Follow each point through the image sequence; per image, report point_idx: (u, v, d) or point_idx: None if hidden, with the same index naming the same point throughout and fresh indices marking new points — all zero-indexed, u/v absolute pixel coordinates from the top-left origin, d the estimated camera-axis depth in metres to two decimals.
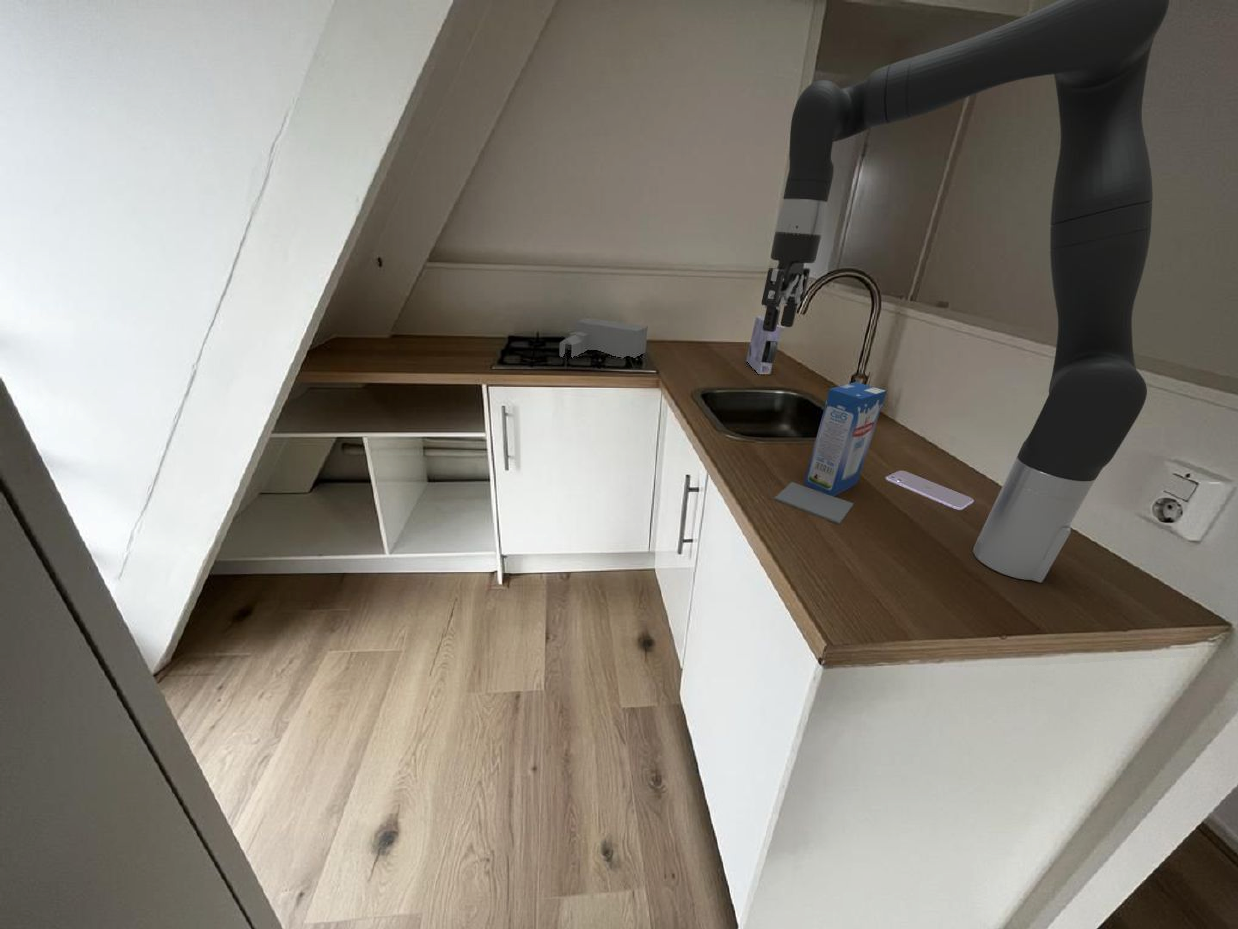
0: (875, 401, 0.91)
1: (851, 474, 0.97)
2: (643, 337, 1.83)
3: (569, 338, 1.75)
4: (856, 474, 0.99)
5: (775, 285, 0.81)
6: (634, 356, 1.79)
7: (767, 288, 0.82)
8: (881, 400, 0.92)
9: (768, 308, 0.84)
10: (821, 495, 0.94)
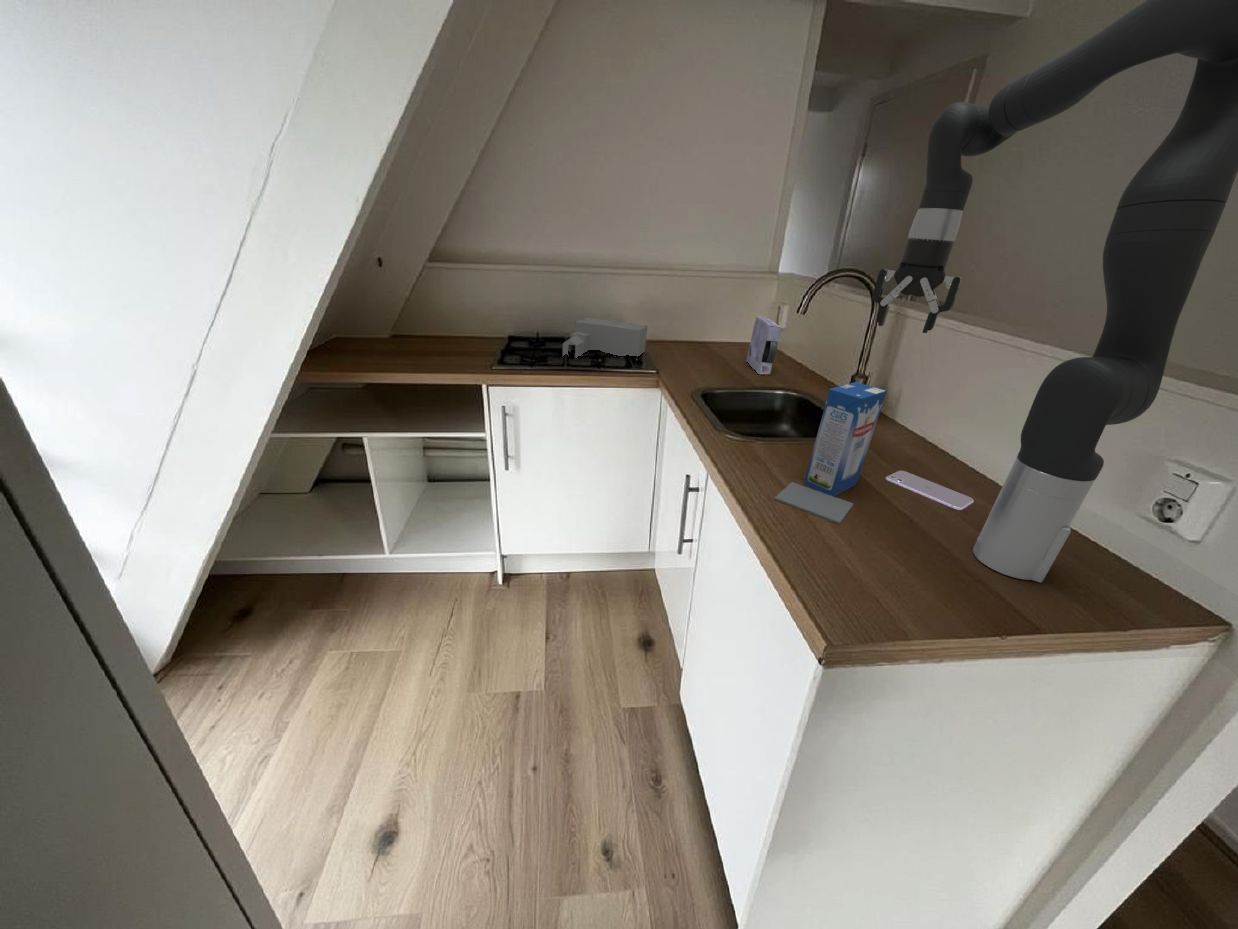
0: (875, 401, 0.91)
1: (851, 474, 0.97)
2: (644, 336, 1.85)
3: (572, 339, 1.75)
4: (856, 474, 0.99)
5: (957, 291, 0.90)
6: (636, 355, 1.81)
7: (955, 295, 0.89)
8: (881, 400, 0.92)
9: (939, 312, 0.92)
10: (821, 495, 0.94)
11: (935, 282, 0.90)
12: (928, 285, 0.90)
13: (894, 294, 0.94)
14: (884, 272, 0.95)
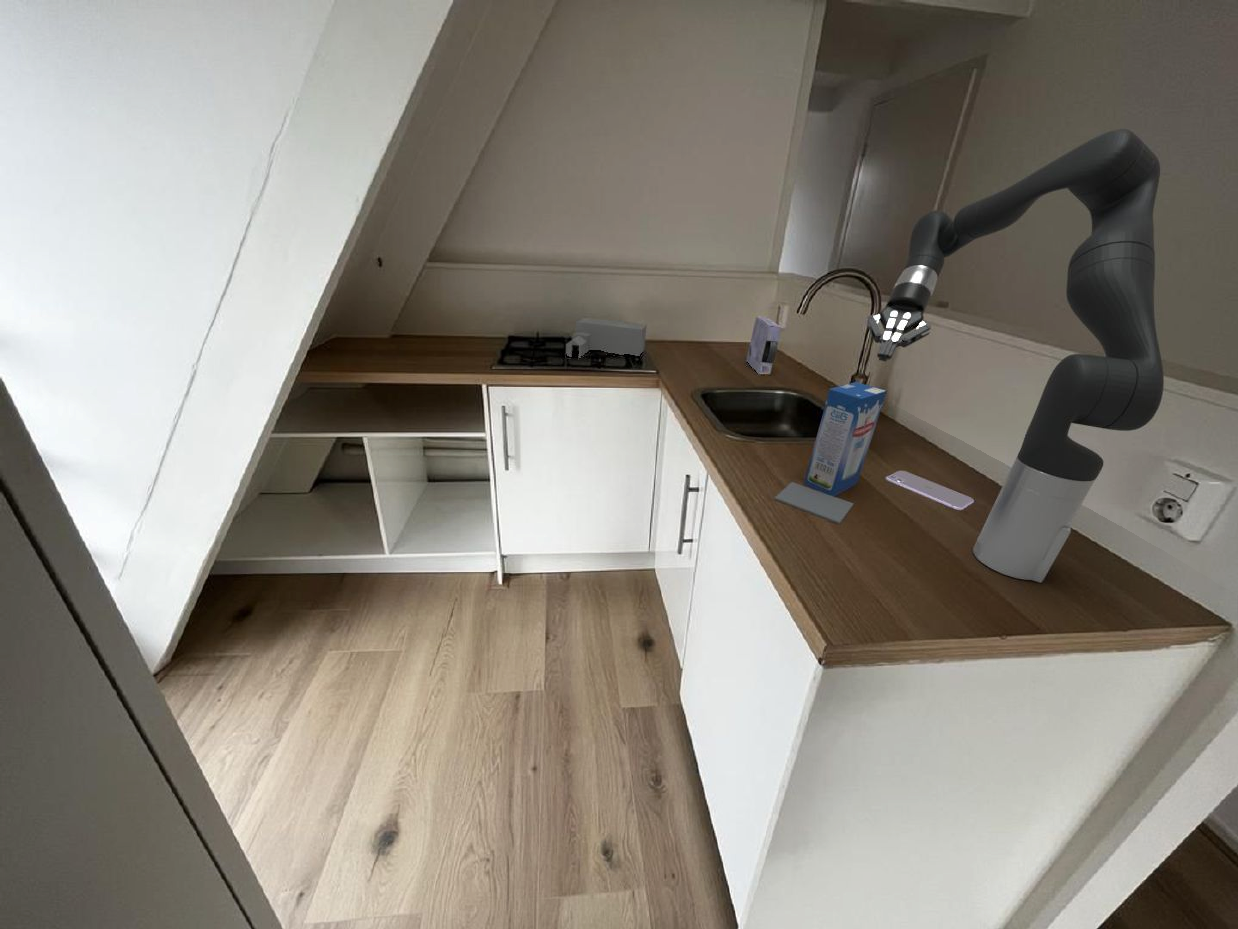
0: (875, 401, 0.91)
1: (851, 474, 0.97)
2: (644, 335, 1.87)
3: (575, 339, 1.75)
4: (856, 474, 0.99)
5: (919, 338, 1.02)
6: (638, 354, 1.83)
7: (916, 335, 1.01)
8: (881, 400, 0.92)
9: (898, 343, 1.02)
10: (821, 495, 0.94)
11: (914, 318, 1.02)
12: (907, 320, 1.02)
13: (891, 327, 1.03)
14: (872, 316, 1.06)
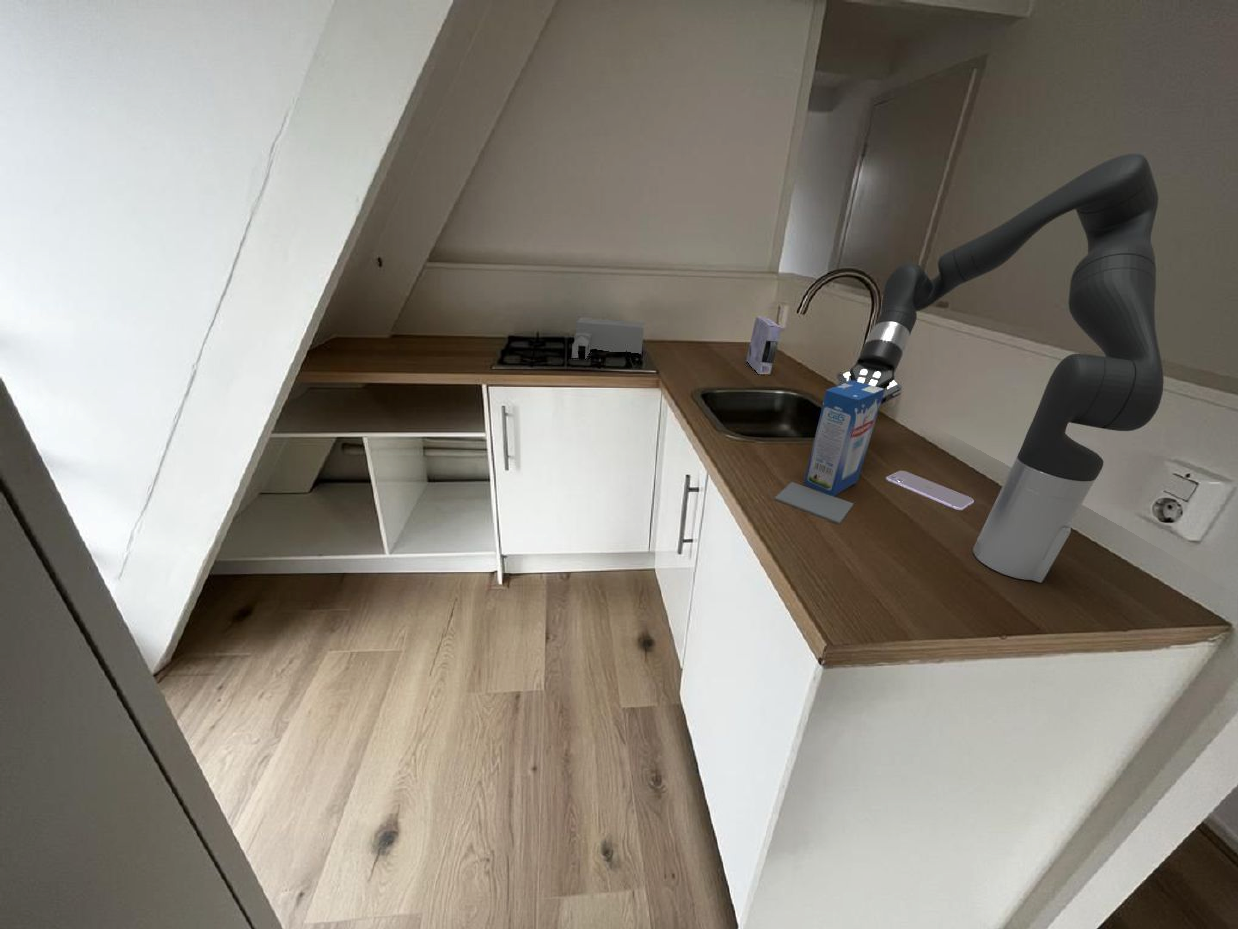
0: (872, 400, 0.90)
1: (851, 472, 0.97)
2: None
3: (581, 340, 1.74)
4: (856, 472, 0.98)
5: (889, 398, 0.98)
6: (640, 352, 1.85)
7: (887, 396, 0.97)
8: (879, 398, 0.91)
9: None
10: (821, 495, 0.94)
11: (884, 377, 0.98)
12: (877, 379, 0.98)
13: None
14: (841, 373, 1.02)
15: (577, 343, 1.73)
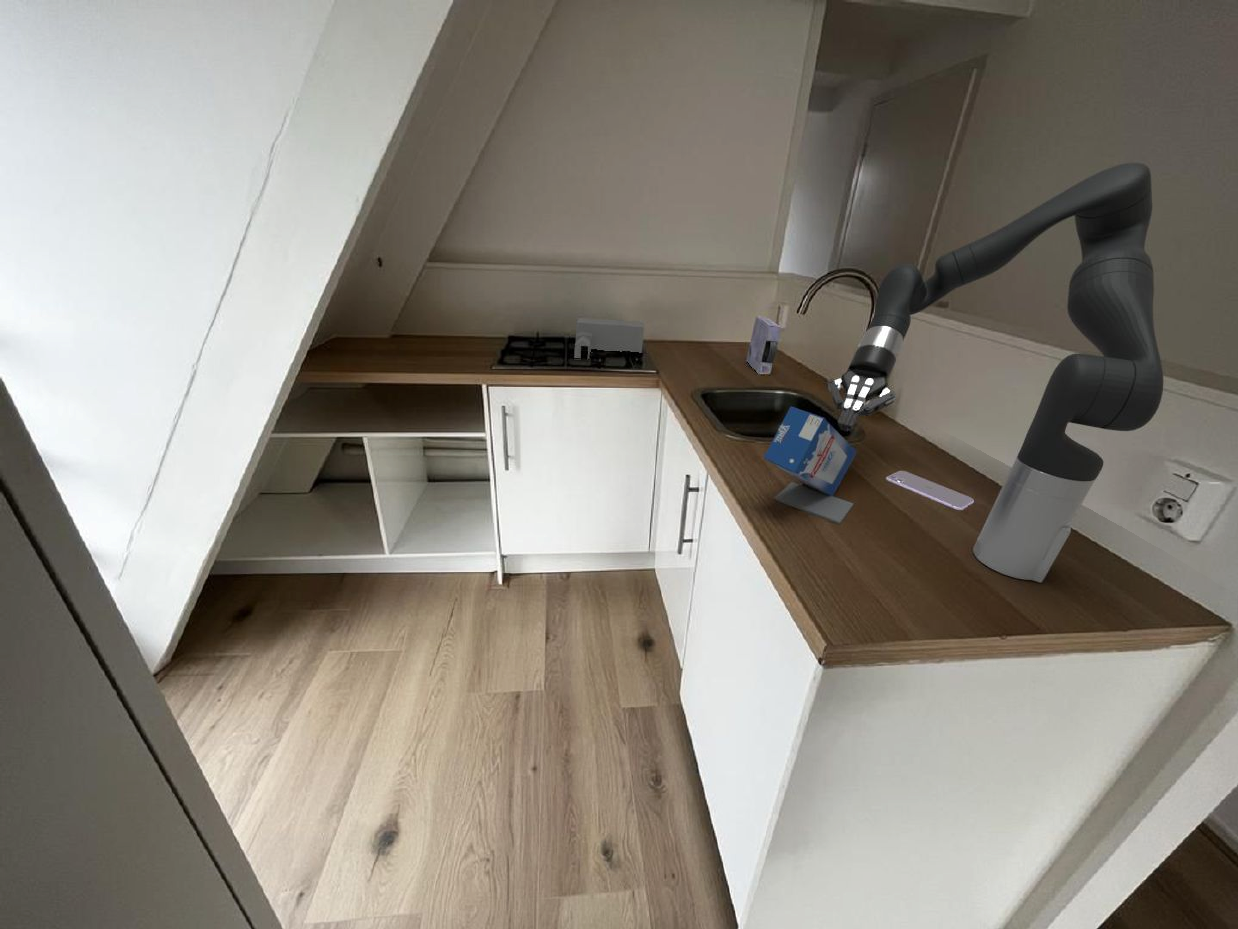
0: (815, 441, 0.81)
1: (841, 466, 0.92)
2: None
3: (583, 340, 1.74)
4: (848, 455, 0.92)
5: (882, 406, 0.93)
6: (640, 351, 1.87)
7: (880, 404, 0.92)
8: (824, 427, 0.81)
9: (859, 412, 0.94)
10: (821, 495, 0.94)
11: (877, 385, 0.94)
12: (869, 386, 0.93)
13: (852, 394, 0.94)
14: (832, 380, 0.98)
15: (580, 343, 1.73)
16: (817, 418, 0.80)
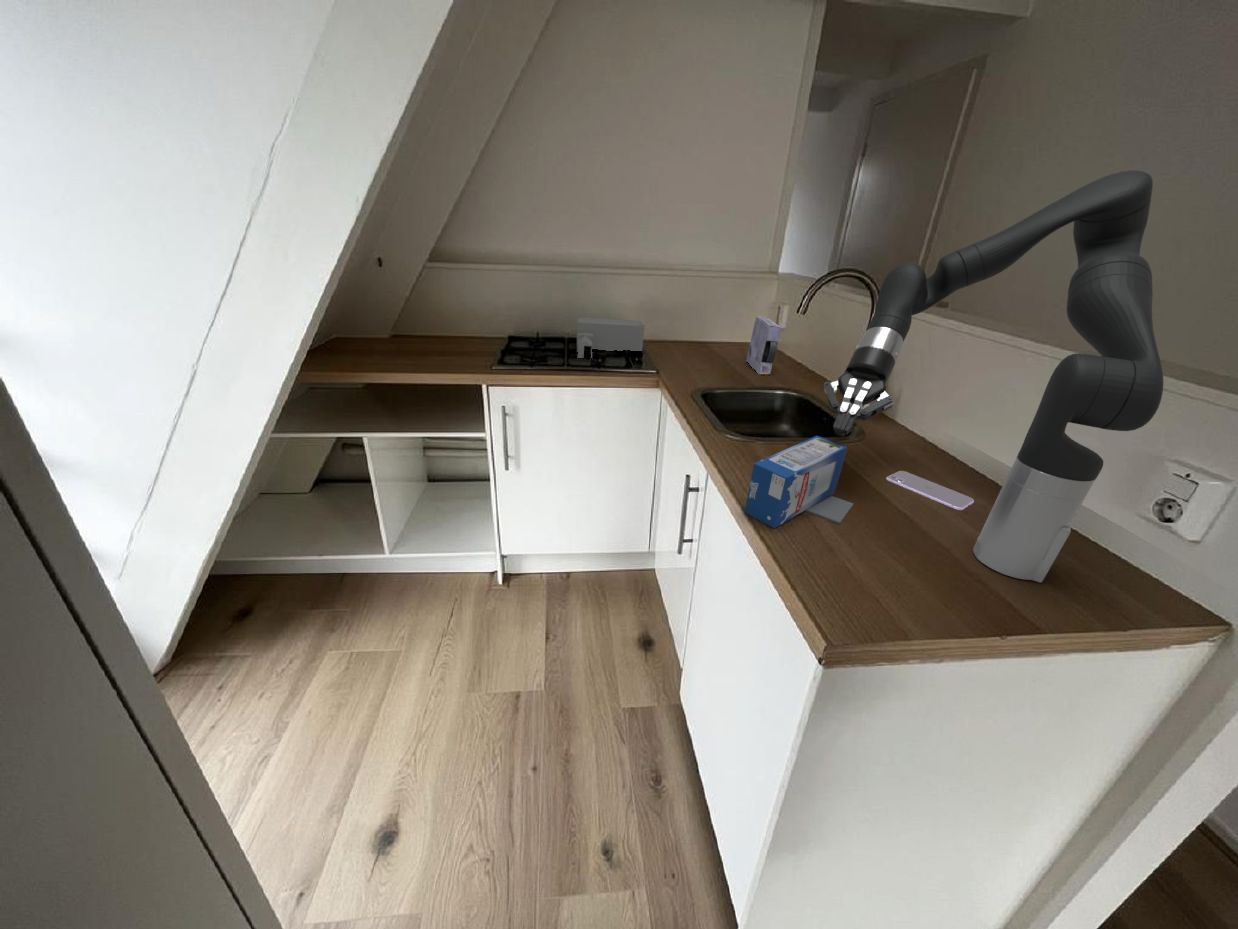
0: (786, 495, 0.81)
1: (832, 471, 0.90)
2: None
3: (586, 340, 1.74)
4: (837, 459, 0.89)
5: (880, 411, 0.89)
6: (641, 350, 1.88)
7: (877, 409, 0.88)
8: (790, 481, 0.80)
9: (856, 417, 0.90)
10: None
11: (875, 388, 0.90)
12: (866, 390, 0.89)
13: (848, 397, 0.90)
14: (829, 382, 0.94)
15: (583, 343, 1.73)
16: (780, 478, 0.79)
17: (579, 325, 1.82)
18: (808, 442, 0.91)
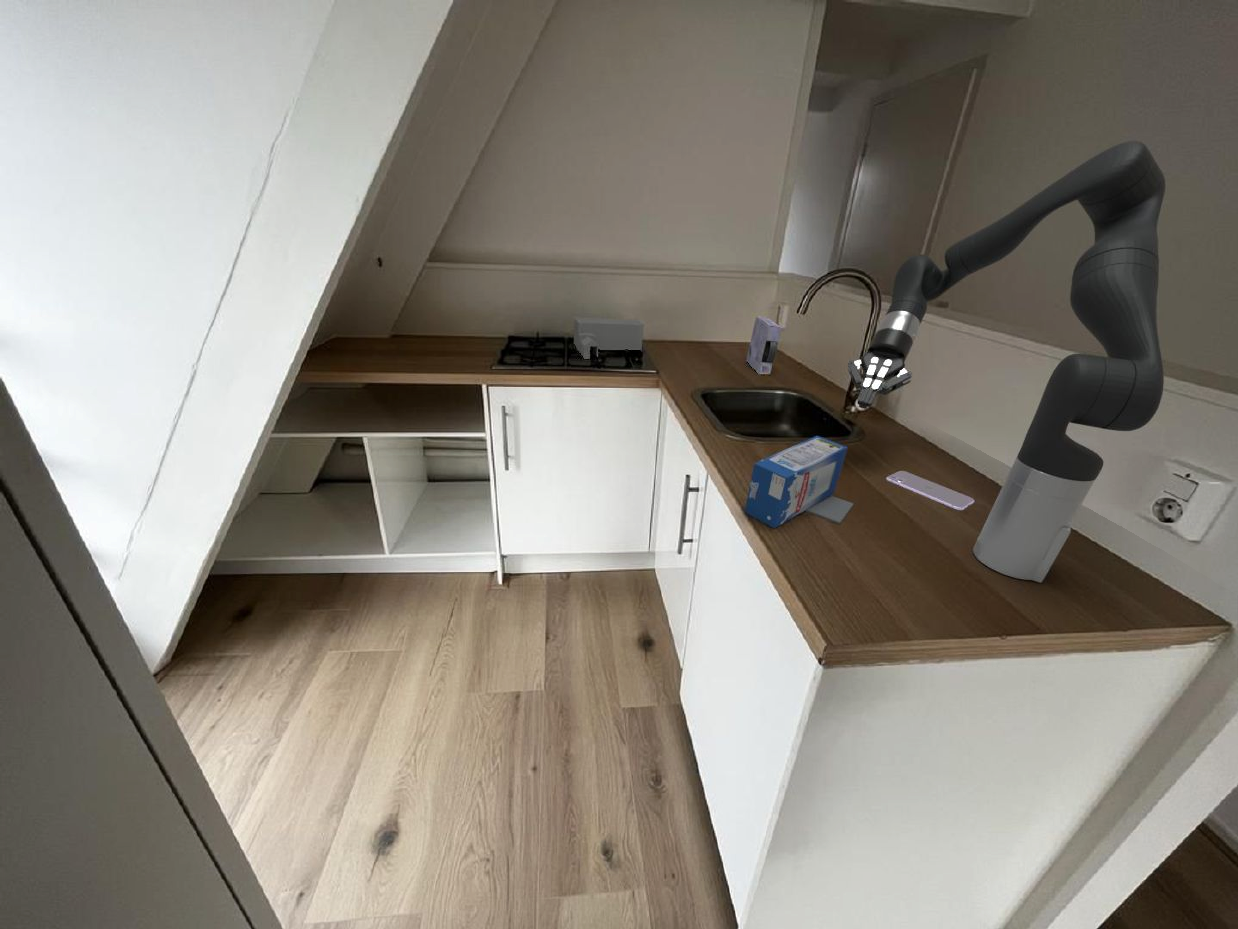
0: (786, 495, 0.81)
1: (832, 471, 0.90)
2: None
3: (591, 340, 1.75)
4: (838, 459, 0.89)
5: (900, 386, 1.00)
6: (640, 349, 1.91)
7: (897, 384, 0.99)
8: (790, 481, 0.80)
9: (878, 391, 1.00)
10: None
11: (895, 365, 1.00)
12: (887, 367, 1.00)
13: (871, 373, 1.01)
14: (852, 361, 1.04)
15: (589, 344, 1.73)
16: (780, 478, 0.79)
17: (580, 325, 1.82)
18: (808, 442, 0.91)
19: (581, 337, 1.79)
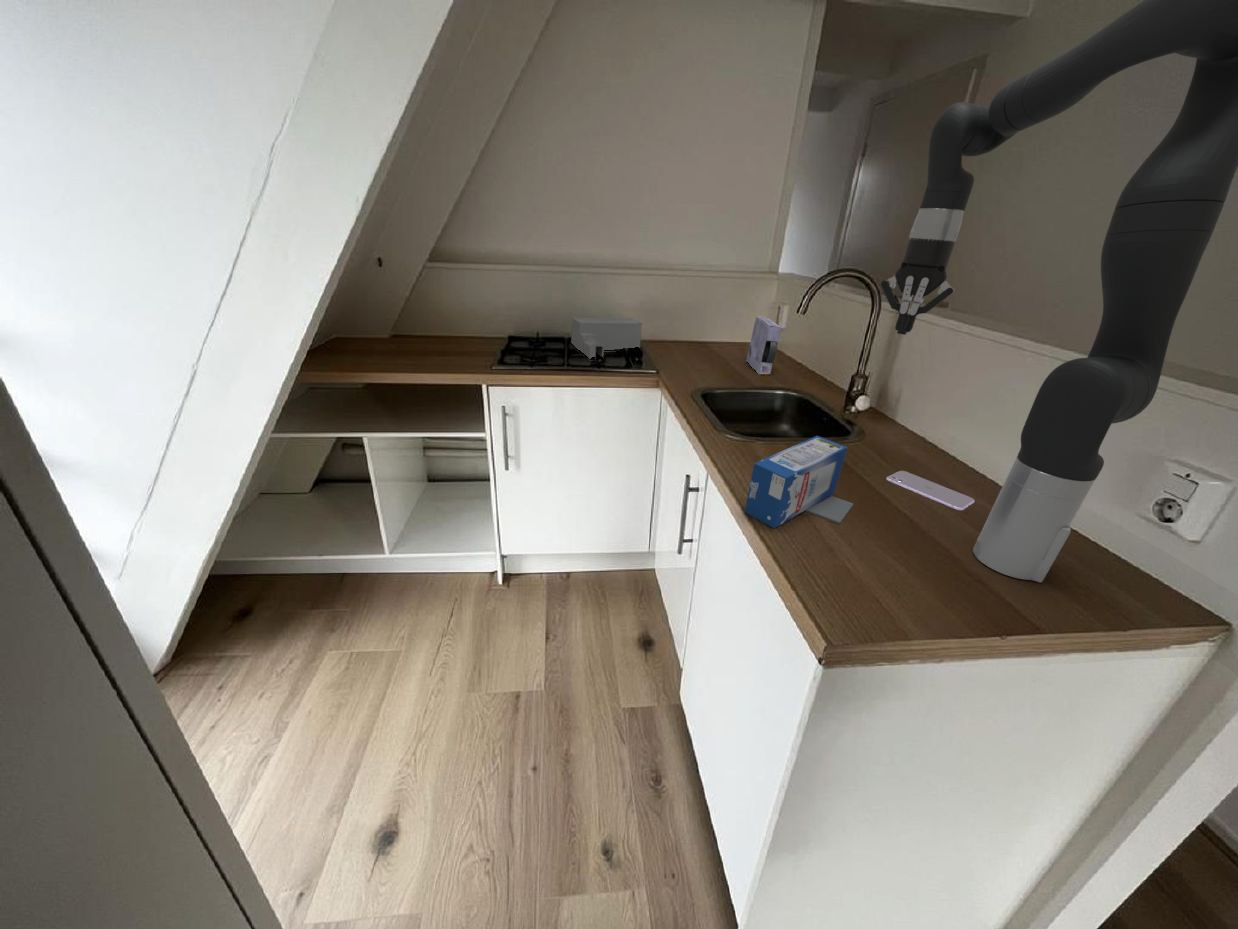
0: (786, 495, 0.81)
1: (832, 471, 0.90)
2: None
3: (596, 340, 1.75)
4: (838, 459, 0.89)
5: None
6: (639, 347, 1.94)
7: (937, 303, 0.92)
8: (790, 481, 0.80)
9: (917, 314, 0.94)
10: None
11: (933, 281, 0.91)
12: (924, 287, 0.91)
13: (907, 298, 0.93)
14: (886, 282, 0.95)
15: (595, 344, 1.74)
16: (780, 478, 0.79)
17: (581, 325, 1.82)
18: (808, 442, 0.91)
19: (584, 337, 1.79)
